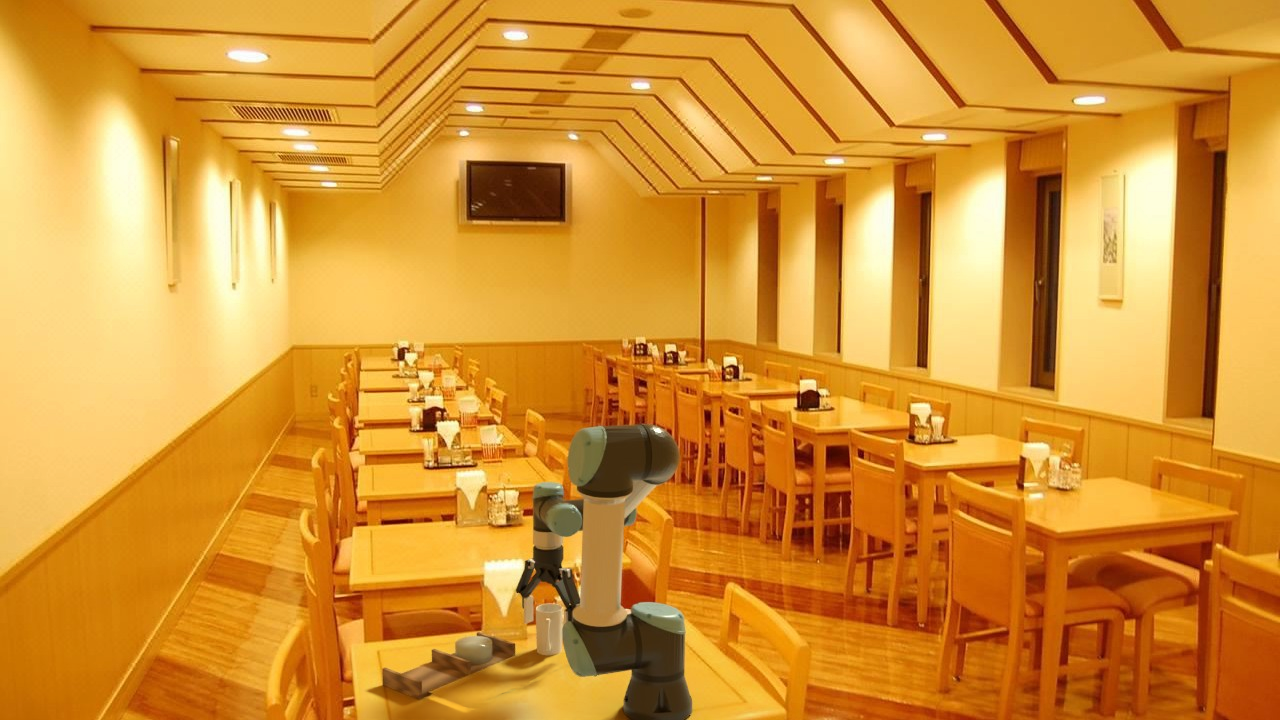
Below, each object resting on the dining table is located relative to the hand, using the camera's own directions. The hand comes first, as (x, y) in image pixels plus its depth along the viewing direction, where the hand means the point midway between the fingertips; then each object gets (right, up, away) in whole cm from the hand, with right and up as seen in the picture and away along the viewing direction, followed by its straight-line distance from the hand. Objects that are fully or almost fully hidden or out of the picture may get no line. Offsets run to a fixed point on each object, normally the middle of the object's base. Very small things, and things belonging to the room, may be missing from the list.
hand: (548, 628), depth 253 cm
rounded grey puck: (-18, -7, -4) cm, 19 cm away
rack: (-23, -8, -9) cm, 26 cm away
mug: (0, -7, 0) cm, 7 cm away
